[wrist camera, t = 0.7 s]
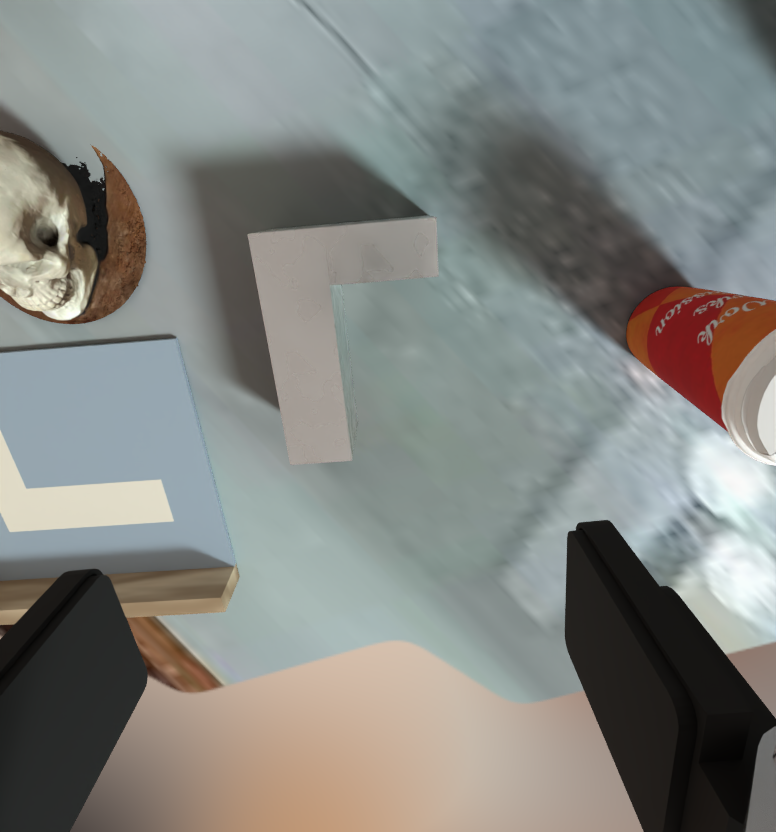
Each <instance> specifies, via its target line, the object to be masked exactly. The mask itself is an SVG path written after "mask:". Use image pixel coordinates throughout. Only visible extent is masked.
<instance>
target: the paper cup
mask: <svg viewBox="0 0 776 832" xmlns="http://www.w3.org/2000/svg"><path fill="white" fill-rule="evenodd" d="M626 338H627V344H628V346H629V349H630V351H631V352H632V353H633V355H634V356H635V357H636V358H637V359H638V360H639V361H640V362H641V363H642V364H644V365H645V366H646V367H647V368H648V369H650V370H651V371H652V372H653V373H654V374H656V375H657V376H658V377H659V378H661V379H662V380H663V381H664V382H666V383H667V384H668V385H669V386H671V387H672V388H673V389H674V390H676V391H677V392H678V393H679V394H681V395H682V396H683V397H684V398H686V399H687V400H688V401H690V402H691V403H692V404H693V405H695V406H696V407H697V408H698V409H700V410H701V411H702V412H704V413H705V414H706V415H707V416H709V417H710V418H711V419H712V420H714V421H715V422H716V423H718V424H719V425H720V426H721V427H723V428H724V429H725V430H726V431H728V433H729V435H730V437H731V439H732V441H733V442H734V443H735V445H736V446H737V447H738V448H739V449H740V450H741V451H742V452H743V453H744V454H746V455H747V456H749V457H751V458H752V459H754V460H756V461H759V462H762V463H765V464H769V465H775V466H776V301H774V300H768V299H762V298H756V297H749V296H743V295H737V294H731V293H724V292H718V291H712V290H705V289H698V288H691V287H668V288H664V289H660V290H658V291H656V292H654V293H652V294H650V295H649V296H647V297H646V298H645V299H644V300H643V301H641V302H640V303H639V305H638V306H637V307H636V308H635V310H634V311H633V313H632V315H631V317H630V319H629V322H628V325H627V330H626Z"/></svg>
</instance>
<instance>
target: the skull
mask: <svg viewBox="0 0 776 832" xmlns="http://www.w3.org/2000/svg"><path fill="white" fill-rule="evenodd" d="M92 148H93V149H94V150H95V152H96V153H97V156H98V157H99V158H100V161H101V162H102V164H103V167H104V168H103V169H104V176H105V177H104V178H105V180H104V181H103V178H101V179H100V182H101V183H102V184H101V183H100V182H98V181H96V182H95V181H92V183H91V182H90V180H89V178H88V177H89V176H90V173H89V172H88V170H87V167H86V165H85V164H84V163H85V162H84V163H81V162H79V163H81V164H82V165H81V166H84V167H83V168H82V167H80V166H77V165H70V166H69V167H68V166H67V165H66V164H65V163H61V162H60V161H59V160H58V159H56V158H55V157H54V156H53V155H52V154H50V153H49V152H48V151H46V150H45V149H43V148H42V147H40V146H38V145H37V144H35V143H34V142H32V141H30V140H28V139H26V138H24V137H22V136H19V135H16V134H12V133H8V132H4V131H0V297H2V298H3V299H4V300H6V301H7V302H9V303H10V304H11V305H13V306H15V307H16V308H19V309H20V310H21V311H23V312H25V313H27V314H30V315H32V316H34V317H37V318H40V319H43V320H46V321H50V322H56V323H63V324H80V323H87V322H92V321H95V320H98V319H101V318H103V317H105V316H107V315H109V314H111V313H113V312H114V311H115V310H117V309H118V308H120V307H121V306H122V305H123V304H124V303H125V302H126V301H127V300H128V299H129V297H130V296H131V294H132V293H133V291H134V290H135V288H136V286H138V282H139V280H140V278H141V275H142V273H143V267H144V263H146V261H145V256H146V245H147V244H146V242H147V241H146V233H145V227H144V221H143V216H142V215H141V212H140V210H139V209H140V207H139V206H138V204H137V202H136V201H137V200H136V198H135V197H134V195H133V193H132V191H131V189H130V187H129V185H128V184H127V182H126V180H125V179H124V177H123V176H122V174H121V173H120V172H119V171H118V169H117V168H116V167H115V166H114V165H113V164H112V162H111V161H109V160H107V157H106V156H105V155H104V154H103V153H102V155H103V156H102V157H101V156H100V153H101V152H100V151H99V150H98V149H97V148H96V147H94V146H92ZM99 152H100V153H99ZM76 158H77V157H76ZM105 158H106V159H105ZM105 166H107V168H106V167H105ZM79 168H81V169H80V170H79ZM107 171H109V172H107ZM104 182H105V183H104ZM98 184H99V185H98ZM102 188H105V189H104V191H103V190H102Z"/></svg>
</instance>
